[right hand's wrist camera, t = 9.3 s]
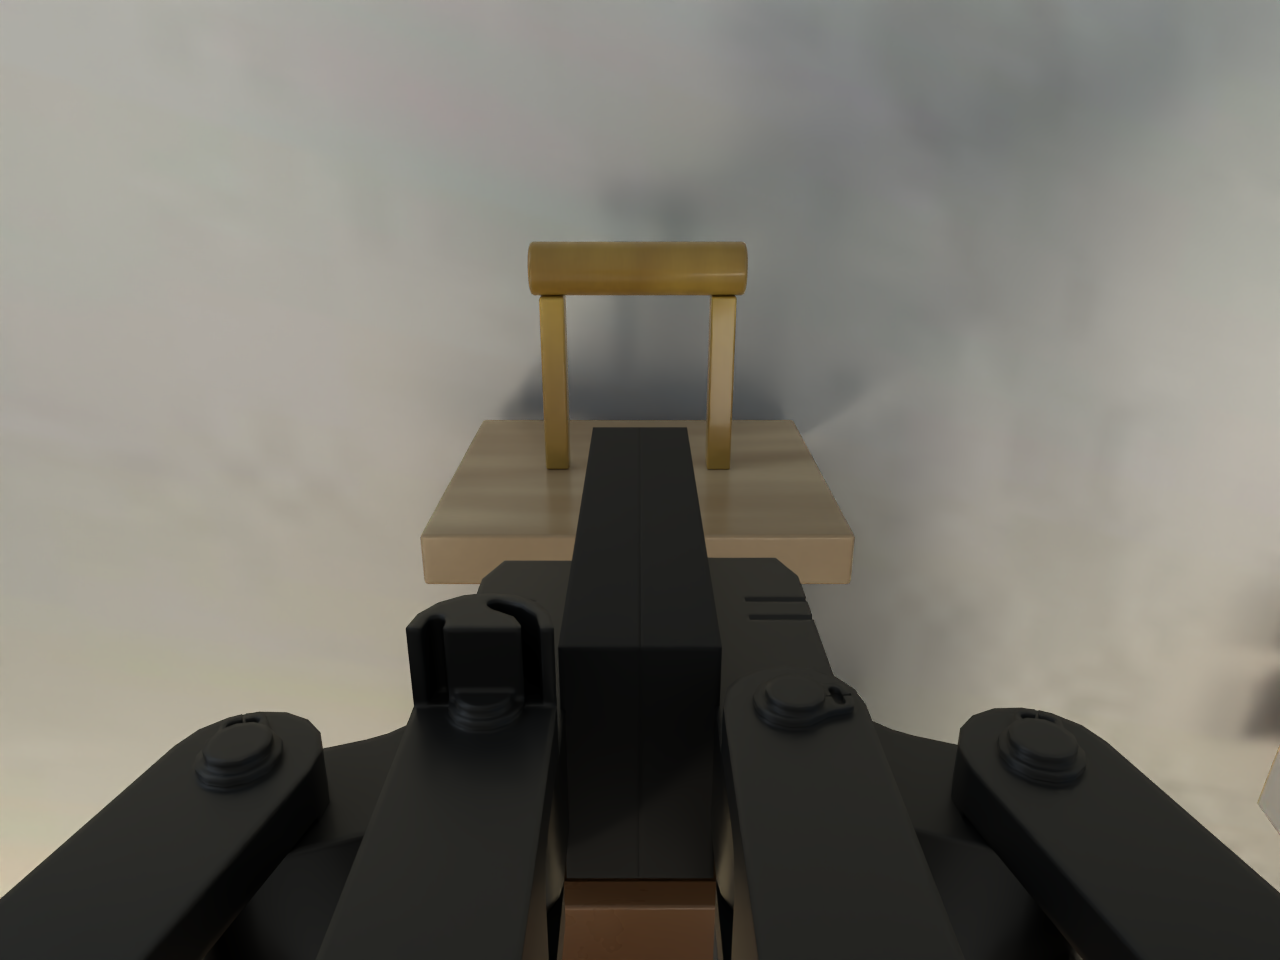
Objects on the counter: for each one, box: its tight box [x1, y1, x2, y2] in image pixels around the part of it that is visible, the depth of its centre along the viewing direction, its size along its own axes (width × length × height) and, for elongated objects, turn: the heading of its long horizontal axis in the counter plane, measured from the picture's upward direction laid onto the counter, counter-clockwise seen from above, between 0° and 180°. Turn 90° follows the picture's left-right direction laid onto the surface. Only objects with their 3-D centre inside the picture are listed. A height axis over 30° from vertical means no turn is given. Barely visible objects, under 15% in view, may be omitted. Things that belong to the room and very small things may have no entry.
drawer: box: [420, 242, 855, 881], centre depth 26 cm, size 24×9×8 cm, turn 0°
